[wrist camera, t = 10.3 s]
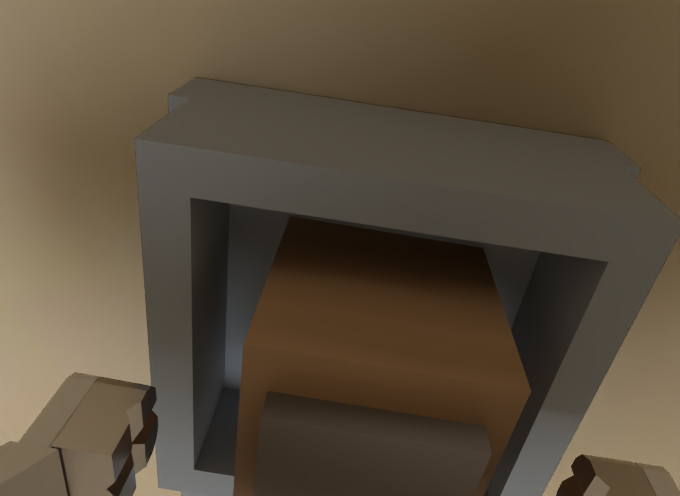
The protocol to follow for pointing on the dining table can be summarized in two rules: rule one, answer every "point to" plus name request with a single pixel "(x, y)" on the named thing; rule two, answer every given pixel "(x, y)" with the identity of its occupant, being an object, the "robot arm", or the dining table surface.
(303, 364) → the brown block
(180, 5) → the dining table surface
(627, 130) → the dining table surface
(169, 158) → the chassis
